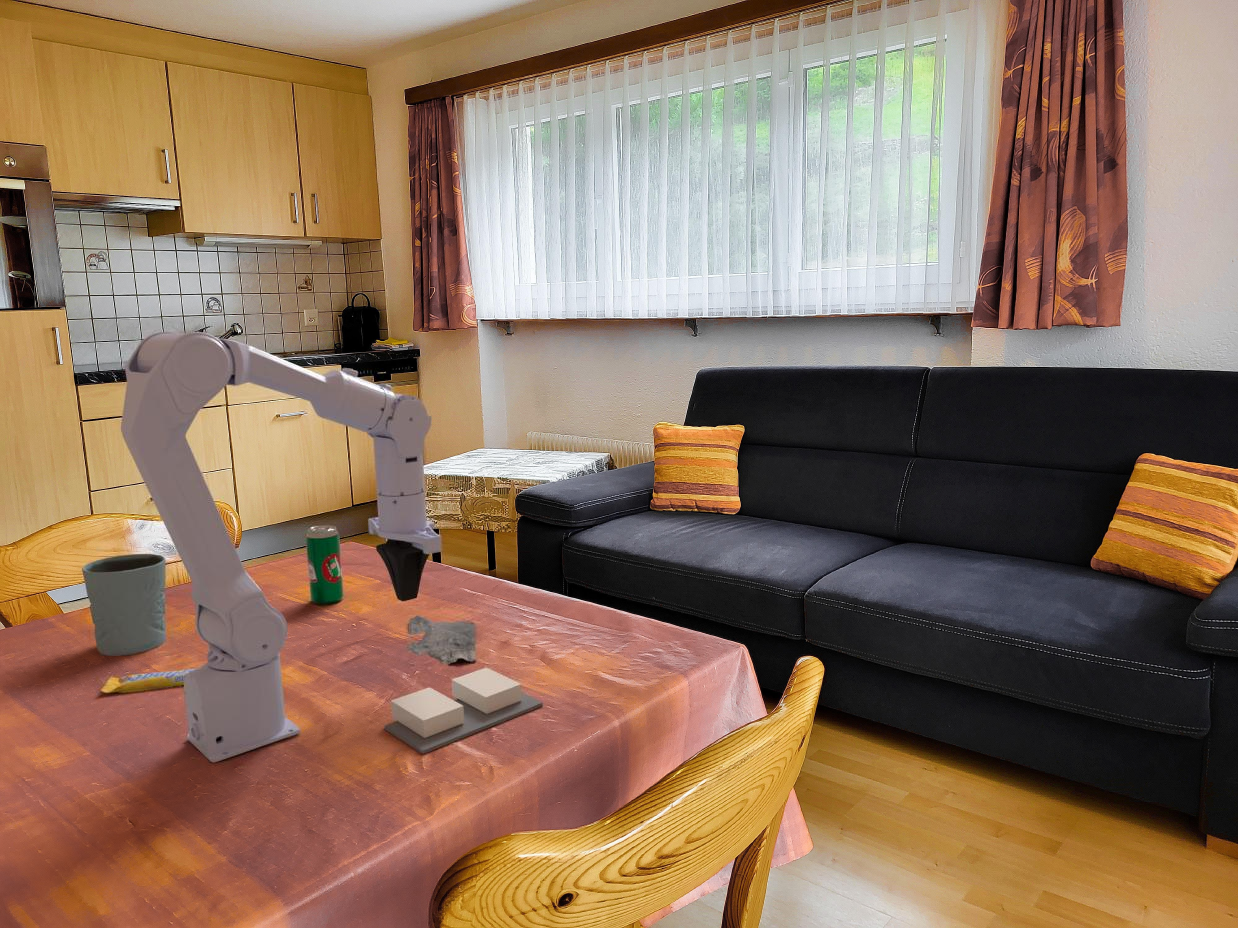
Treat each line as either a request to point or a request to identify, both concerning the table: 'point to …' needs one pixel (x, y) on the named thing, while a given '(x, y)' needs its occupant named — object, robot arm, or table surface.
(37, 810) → the table surface
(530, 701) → the mat
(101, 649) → the grey green cup
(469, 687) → the tan upright block
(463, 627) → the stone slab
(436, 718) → the beige flat block
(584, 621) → the table surface
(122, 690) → the candy bar
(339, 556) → the soda can
